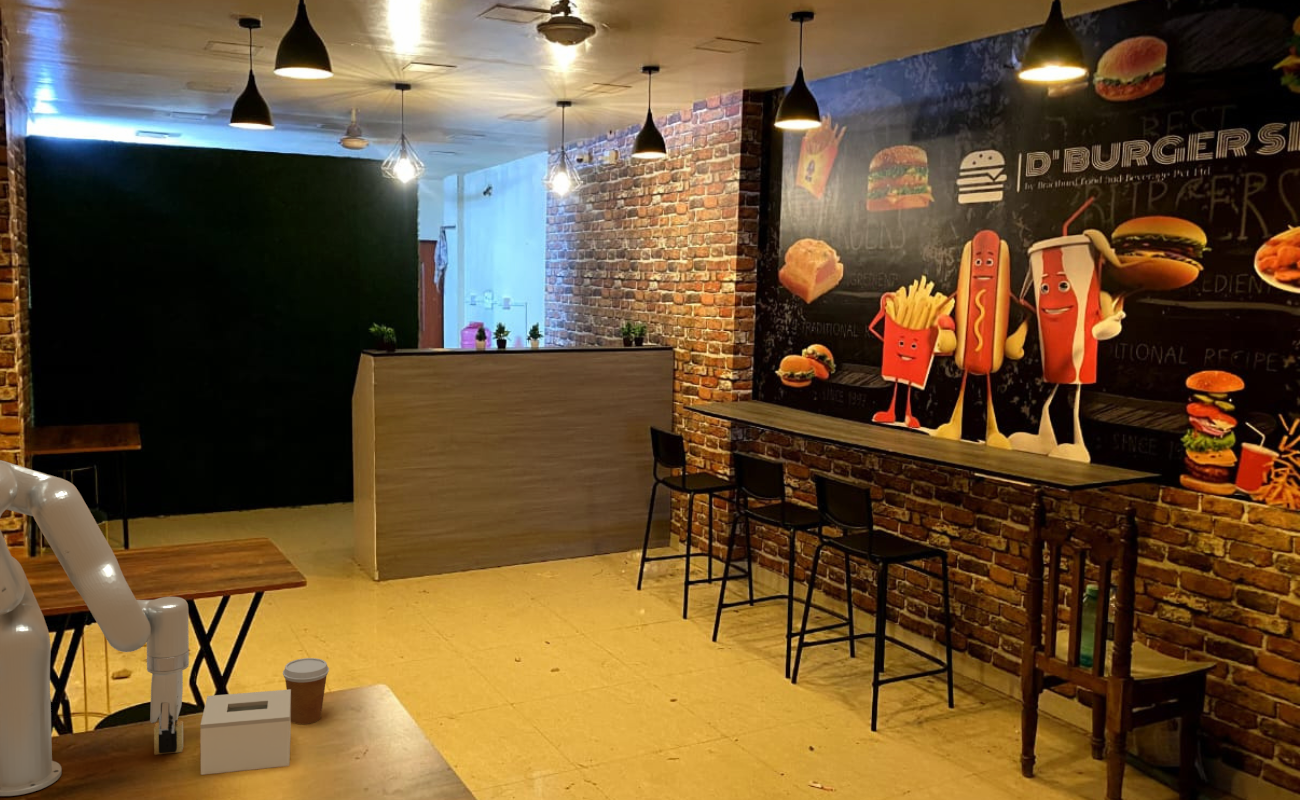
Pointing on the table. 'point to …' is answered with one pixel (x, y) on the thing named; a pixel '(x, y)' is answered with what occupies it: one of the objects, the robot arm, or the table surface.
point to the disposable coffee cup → (306, 688)
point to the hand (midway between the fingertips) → (168, 748)
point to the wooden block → (179, 737)
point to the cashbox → (246, 731)
